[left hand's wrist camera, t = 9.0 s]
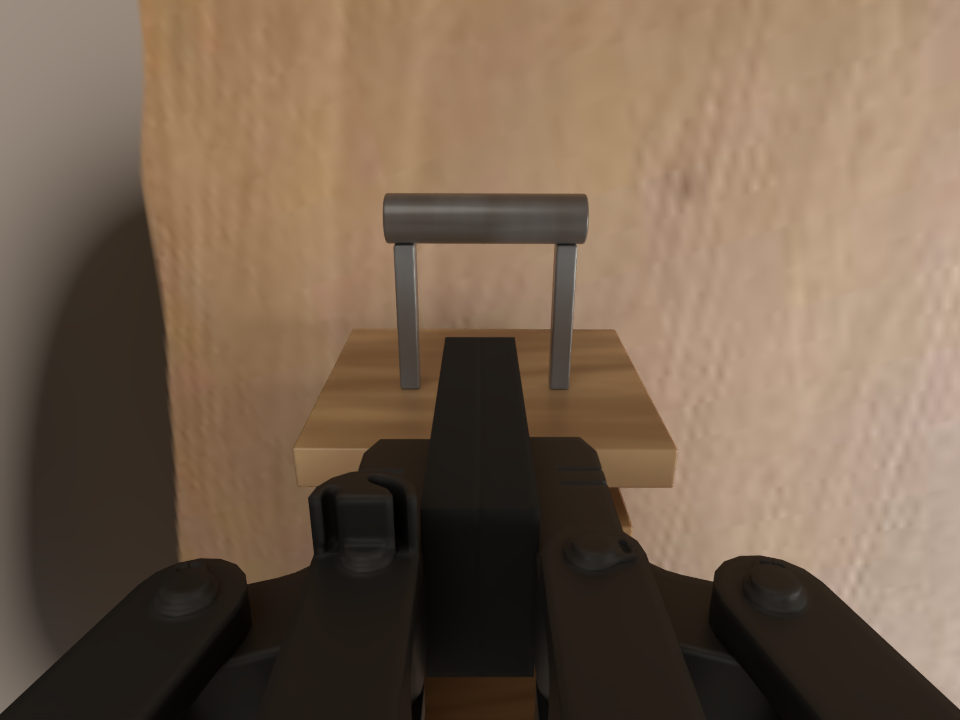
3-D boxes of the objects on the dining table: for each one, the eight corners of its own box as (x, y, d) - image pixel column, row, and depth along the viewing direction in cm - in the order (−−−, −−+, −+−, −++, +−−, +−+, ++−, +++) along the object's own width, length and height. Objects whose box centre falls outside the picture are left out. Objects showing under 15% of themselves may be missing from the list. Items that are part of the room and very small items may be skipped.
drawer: (340, 169, 23) (263, 221, 15) (629, 170, 23) (710, 222, 15) (375, 625, 31) (337, 822, 23) (589, 626, 31) (628, 822, 23)
